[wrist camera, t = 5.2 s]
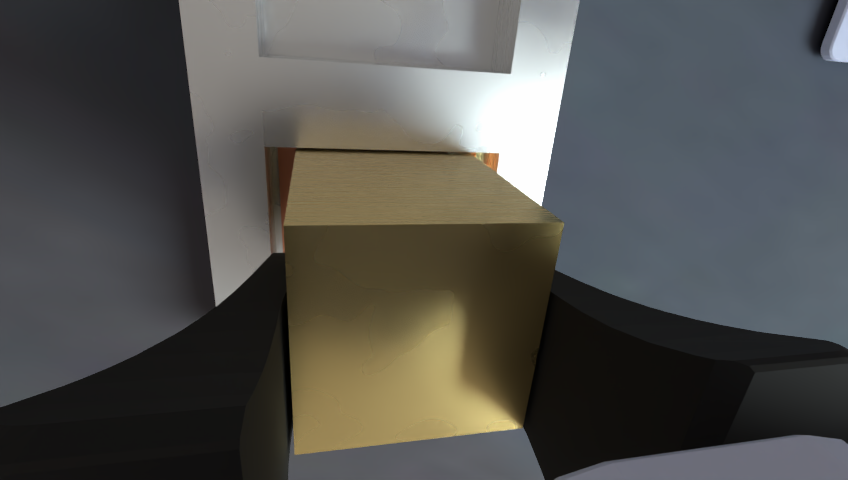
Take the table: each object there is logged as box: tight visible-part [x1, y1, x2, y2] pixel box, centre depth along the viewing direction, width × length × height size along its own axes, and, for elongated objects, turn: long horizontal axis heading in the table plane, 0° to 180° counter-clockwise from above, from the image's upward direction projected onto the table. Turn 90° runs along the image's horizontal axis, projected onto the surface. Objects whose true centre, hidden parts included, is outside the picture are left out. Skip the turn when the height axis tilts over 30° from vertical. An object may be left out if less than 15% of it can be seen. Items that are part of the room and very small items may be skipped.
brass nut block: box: [284, 148, 564, 455], centre depth 11 cm, size 4×4×6 cm
